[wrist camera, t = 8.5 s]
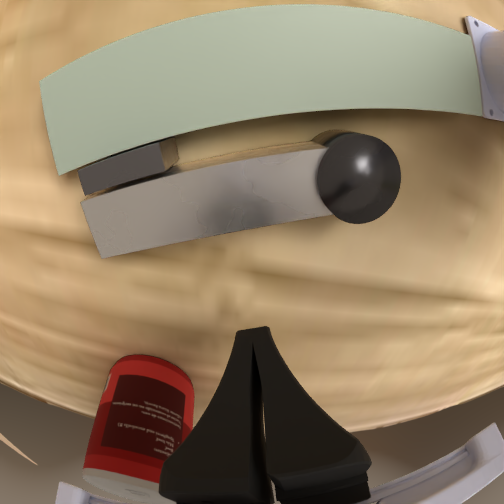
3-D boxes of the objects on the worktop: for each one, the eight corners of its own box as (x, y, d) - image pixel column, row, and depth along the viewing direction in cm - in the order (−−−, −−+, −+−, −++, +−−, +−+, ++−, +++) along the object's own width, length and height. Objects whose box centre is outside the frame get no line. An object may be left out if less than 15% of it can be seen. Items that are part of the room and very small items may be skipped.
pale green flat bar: (451, 38, 10) (470, 36, 8) (462, 112, 12) (482, 116, 11) (59, 82, 10) (39, 81, 8) (77, 167, 13) (58, 175, 11)
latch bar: (367, 127, 13) (399, 133, 10) (371, 197, 15) (399, 217, 12) (101, 177, 13) (73, 194, 10) (123, 242, 15) (102, 271, 12)
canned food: (138, 405, 23) (123, 499, 14) (95, 355, 20) (58, 466, 10) (208, 400, 23) (207, 508, 13) (172, 346, 19) (153, 486, 10)
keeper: (174, 136, 13) (158, 142, 10) (179, 158, 13) (165, 171, 10) (105, 157, 13) (77, 170, 10) (111, 178, 13) (85, 195, 10)
